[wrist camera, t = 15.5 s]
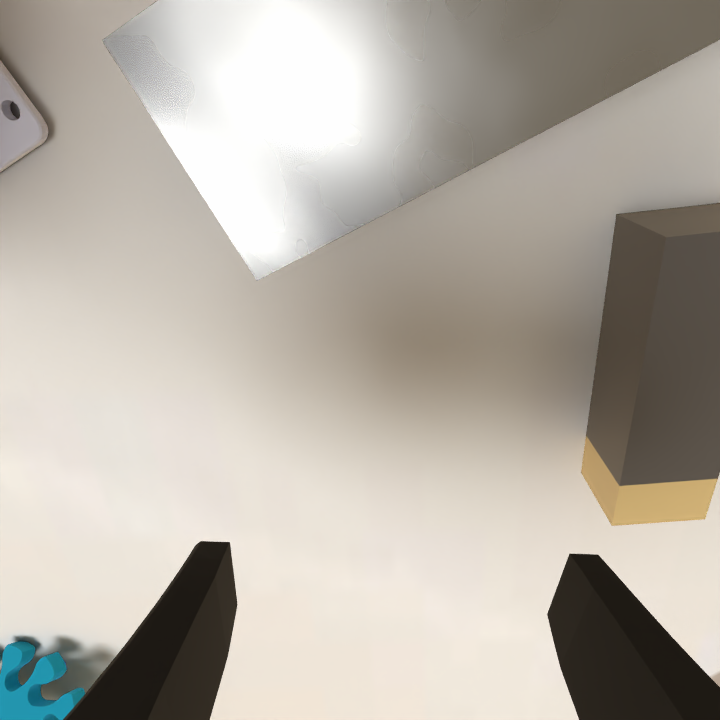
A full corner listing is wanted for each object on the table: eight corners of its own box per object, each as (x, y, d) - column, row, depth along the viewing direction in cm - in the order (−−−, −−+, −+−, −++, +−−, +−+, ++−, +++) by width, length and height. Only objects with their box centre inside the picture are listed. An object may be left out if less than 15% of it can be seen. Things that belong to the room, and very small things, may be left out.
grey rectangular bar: (615, 214, 16) (666, 237, 13) (724, 202, 16) (797, 223, 13) (581, 472, 21) (612, 525, 18) (661, 465, 21) (705, 519, 18)
